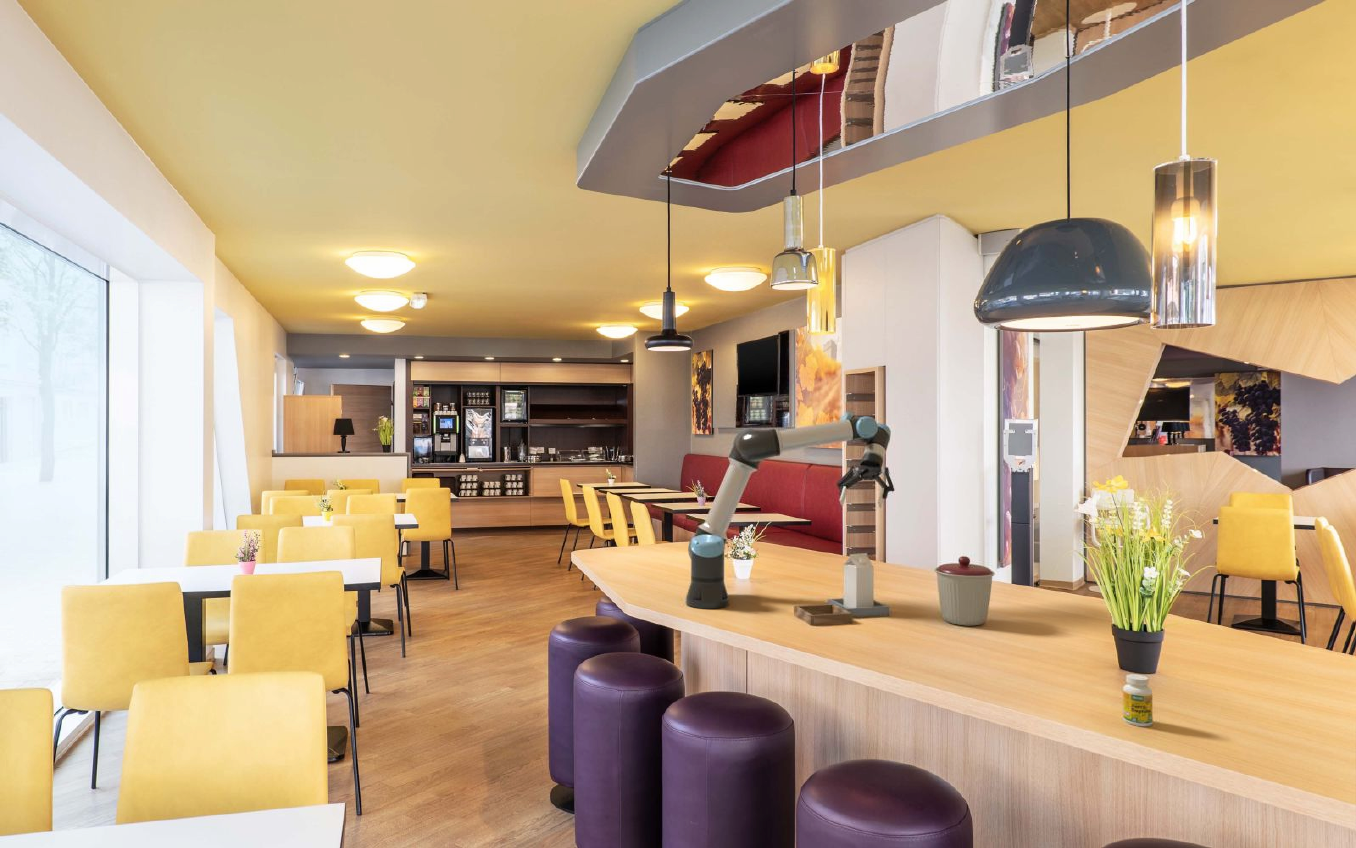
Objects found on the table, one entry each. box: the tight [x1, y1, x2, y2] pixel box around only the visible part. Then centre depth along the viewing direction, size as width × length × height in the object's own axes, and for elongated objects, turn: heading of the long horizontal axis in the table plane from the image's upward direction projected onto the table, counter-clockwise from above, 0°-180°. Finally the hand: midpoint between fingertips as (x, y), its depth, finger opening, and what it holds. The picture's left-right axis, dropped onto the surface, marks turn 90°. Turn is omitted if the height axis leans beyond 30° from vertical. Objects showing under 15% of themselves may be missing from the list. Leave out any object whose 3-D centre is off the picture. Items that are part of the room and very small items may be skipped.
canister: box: [934, 555, 995, 627], centre depth 254 cm, size 18×18×21 cm
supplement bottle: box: [1122, 673, 1154, 728], centre depth 167 cm, size 5×5×10 cm
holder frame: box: [793, 603, 853, 626], centre depth 257 cm, size 14×14×3 cm
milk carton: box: [843, 552, 875, 608], centre depth 268 cm, size 7×7×19 cm
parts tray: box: [827, 597, 890, 619], centre depth 268 cm, size 15×15×3 cm
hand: (860, 503), depth 275 cm, fingers open, 13 cm apart
